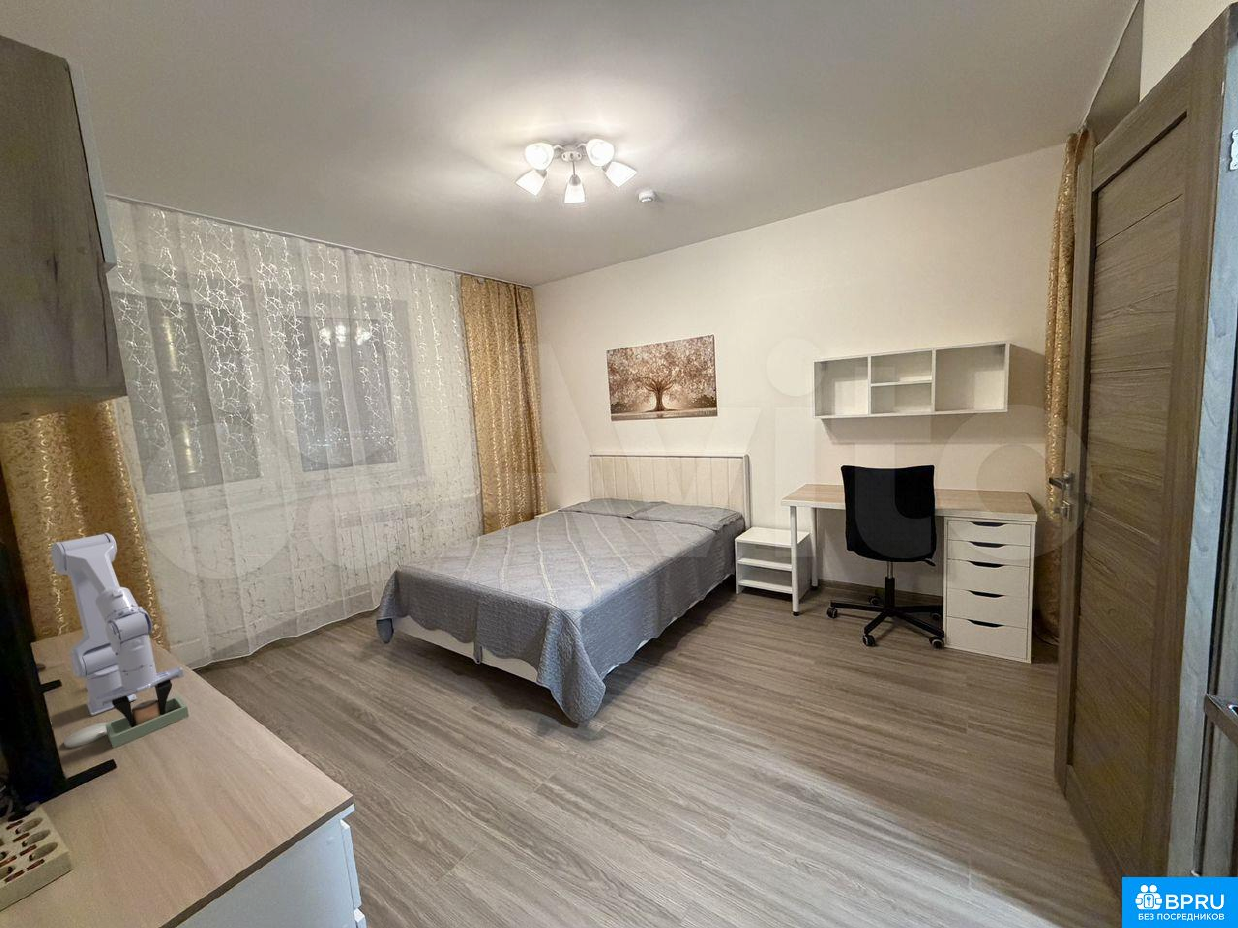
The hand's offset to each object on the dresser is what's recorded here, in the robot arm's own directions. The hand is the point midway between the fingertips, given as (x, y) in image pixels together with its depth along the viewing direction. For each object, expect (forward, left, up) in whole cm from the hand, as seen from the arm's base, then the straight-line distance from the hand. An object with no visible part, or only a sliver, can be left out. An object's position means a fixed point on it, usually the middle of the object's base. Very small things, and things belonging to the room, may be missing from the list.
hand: (147, 719), depth 111 cm
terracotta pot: (0, 0, -1) cm, 1 cm away
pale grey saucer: (-7, -9, -1) cm, 11 cm away
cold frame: (0, 0, -1) cm, 1 cm away
